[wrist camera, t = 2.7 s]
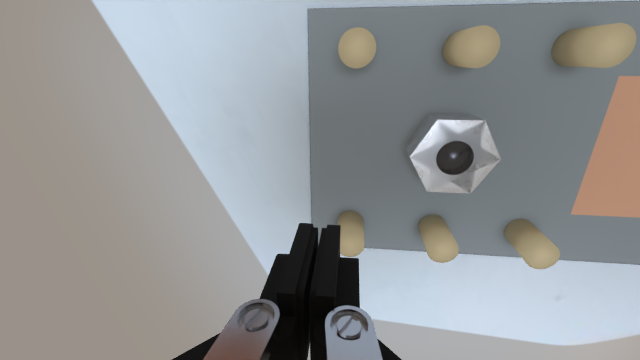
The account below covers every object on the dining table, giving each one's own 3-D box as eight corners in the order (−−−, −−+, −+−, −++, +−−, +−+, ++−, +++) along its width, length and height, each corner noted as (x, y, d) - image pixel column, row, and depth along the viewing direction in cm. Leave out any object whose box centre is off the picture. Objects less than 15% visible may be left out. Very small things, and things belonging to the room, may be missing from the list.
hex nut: (493, 113, 25) (510, 121, 22) (478, 180, 27) (493, 194, 24) (407, 112, 26) (414, 119, 23) (401, 177, 28) (406, 191, 25)
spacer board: (897, -5, 20) (1029, -21, 16) (726, 268, 28) (786, 302, 24) (307, 9, 24) (298, -1, 20) (312, 243, 32) (305, 268, 28)
